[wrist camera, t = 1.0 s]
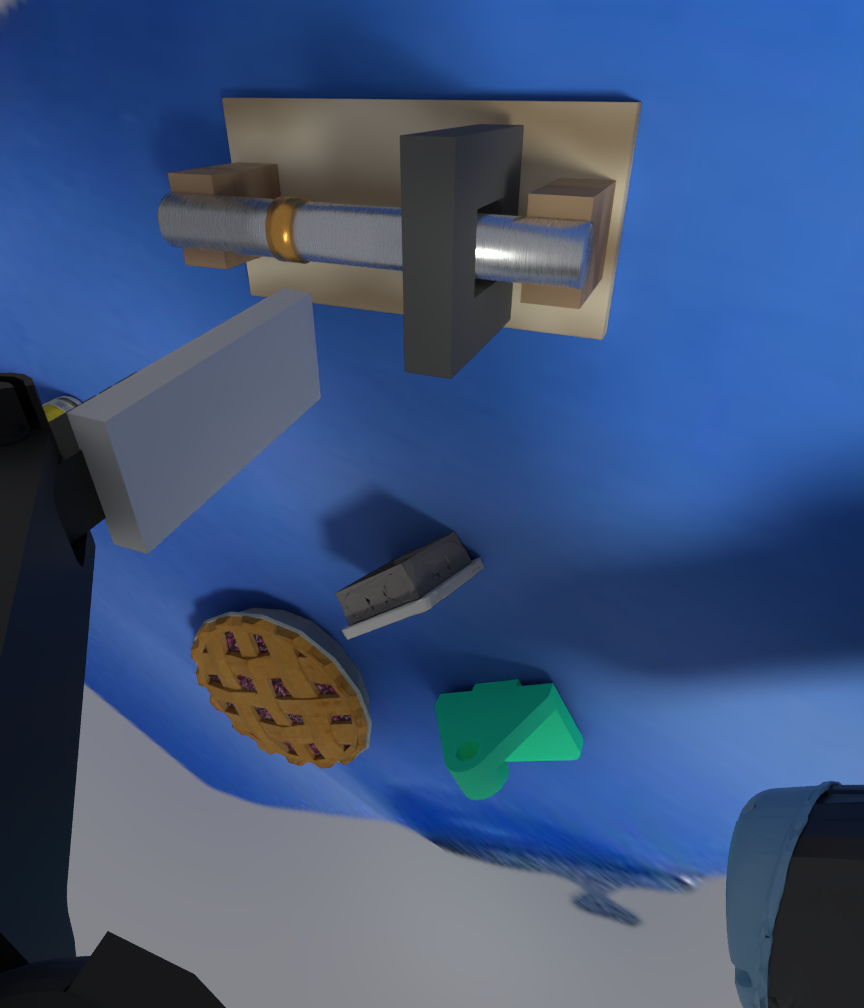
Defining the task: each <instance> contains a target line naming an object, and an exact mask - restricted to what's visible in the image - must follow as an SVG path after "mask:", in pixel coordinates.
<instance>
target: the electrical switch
mask: <svg viewBox="0 0 864 1008" xmlns="http://www.w3.org/2000/svg"><path fill="white" fill-rule="evenodd" d="M406 559H407V560H406ZM392 562H393V564H394V566H393V564H392ZM392 562H391V561H390V562H388V563H386V564H385V565H383V566H381V567H379V568H378V569H376V570H374V571H373V572H371V573H369V574H367V575H366V576H364V577H362V578H361V579H359V580H357V581H355V582H354V583H352V584H350V585H348V586H347V587H345V588H343V589H342V590H340V591H338V592H336V593H335V594H336V596H337V598H338V600H339V602H340V603H341V605H342V607H343V611H344V614H345V616H346V618H347V621H348V624H349V626H347V627H345V628H343V629H342V632H343V634H344V635H345V637H346V638H347V640H348V639H351V638H354V637H356V636H359V635H362V634H364V633H367V632H370V631H372V630H375V629H378V628H380V627H383V626H386V625H388V624H391V623H394V622H396V621H399V620H402V619H404V618H407V617H410V616H412V615H415V614H420V613H423V612H426V611H428V610H429V609H431V608H432V607H433V605H435V604H436V603H438V602H439V601H441V600H442V599H444V598H445V597H447V596H448V595H449V594H451V593H452V592H453V591H455V590H456V589H457V588H458V587H460V586H461V585H462V584H464V583H465V582H466V581H468V580H469V579H470V578H472V577H473V576H474V575H476V574H477V573H478V572H479V571H481V570H482V569H483V568H484V566H483V563H482V560H481V558H480V557H479V558H476V559H474V560H472V561H471V559H470V557H469V555H468V553H467V551H466V549H465V548H464V547H463V546H462V544H461V542H460V540H459V538H458V537H457V535H456V533H455V532H453V533H451V534H449V535H447V536H445V537H443V538H441V539H439V540H436V541H434V542H432V543H430V544H428V545H426V546H423V547H421V548H419V549H417V550H415V551H413V552H410V553H408V554H406V555H404V556H402V557H400V558H398V559H395V560H393V561H392Z"/></svg>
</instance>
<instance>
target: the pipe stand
mask: <svg viewBox="0 0 864 1008" xmlns="http://www.w3.org/2000/svg"><path fill="white" fill-rule="evenodd" d="M222 102H223V108H224V115H225V122H226V129H227V135H228V142H229V149H230V155H231V162H232V163H229V164H222V165H216V166H209V167H203V168H196V169H189V170H183V171H176V172H169V173H168V178H169V183H170V188H171V192H175V193H189V194H203V195H223V196H238V197H252V198H266V199H276V198H277V197H281V196H282V197H297V198H306V199H309V200H310V201H311V202H324V203H339V204H353V205H367V206H382V207H396V208H401V176H400V135H406V134H413V133H420V132H427V131H434V130H441V129H448V128H455V127H462V126H469V125H476V124H503V125H524V133H523V148H522V162H521V176H520V191H519V205H518V216H526V217H534V218H549V219H563V220H577V221H591V224H593V227H594V236H593V247H592V254H591V260H590V266H589V270H588V274H587V278H586V281H585V284H584V286H583V288H582V289H572V288H563V287H553V286H543V285H533V284H524V283H514V282H513V291H512V306H511V320H510V321H509V322H508V323H507V324H506V325H505V326H504V327H506V328H514V329H522V330H530V331H538V332H546V333H553V334H561V335H569V336H577V337H585V338H593V339H601V340H602V339H603V337H604V336H605V334H606V332H607V325H608V319H609V312H610V306H611V299H612V293H613V286H614V280H615V273H616V266H617V260H618V253H619V247H620V240H621V234H622V227H623V221H624V214H625V208H626V201H627V195H628V188H629V182H630V175H631V168H632V162H633V155H634V149H635V142H636V136H637V129H638V123H639V116H640V110H641V103H642V102H605V101H512V100H420V99H327V98H222ZM588 241H589V239H588ZM183 253H184V258H185V263H186V265H192V266H201V267H210V268H219V269H229V268H232V267H235V266H237V265H240V264H243V263H247V270H248V276H249V283H250V290H251V295H253V296H261V297H269V296H270V295H272V294H274V293H276V292H277V291H279V290H281V289H290V290H296V291H303V292H309V293H311V296H312V303H317V304H324V305H332V306H340V307H348V308H356V309H364V310H372V311H380V312H388V313H395V314H403V271H398V270H388V269H379V268H369V267H359V266H349V265H340V264H330V263H320V262H309V263H307V264H302V263H293V262H283V261H279V260H277V259H276V258H272V257H262V256H253V255H243V254H233V253H224V252H214V251H204V250H195V249H185V248H183ZM403 315H404V314H403Z"/></svg>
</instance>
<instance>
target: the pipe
mask: <svg viewBox="0 0 864 1008" xmlns="http://www.w3.org/2000/svg"><path fill="white" fill-rule="evenodd" d="M158 222H159V227H160V230H161V233H162V235H163V237H164V238H165V240H166V241H167V242H168V243H169V244H170V245H172V246H174V247H176V248H185V249H195V250H204V251H214V252H224V253H233V254H243V255H253V256H262V257H272V258H276V259H277V260H279V261H283V262H293V263H302V264H307V263H309V262H320V263H330V264H340V265H349V266H359V267H369V268H379V269H388V270H398V271H403V268H402V222H401V208H396V207H382V206H367V205H353V204H339V203H324V202H311V201H310V200H309V199H306V198H297V197H282V196H281V197H277V198H276V199H266V198H252V197H238V196H223V195H203V194H189V193H175V192H171V193H168V194H166V195H165V196H164V197H163V199H162V200H161V202H160V205H159V209H158ZM593 236H594V227H593V224H591V221H577V220H563V219H549V218H534V217H526V216H512V215H497V214H483V213H477V231H476V258H475V279H485V280H495V281H504V282H514V283H524V284H533V285H543V286H553V287H563V288H572V289H582V288H583V286H584V284H585V281H586V278H587V274H588V270H589V266H590V260H591V254H592V247H593ZM588 239H589V241H588Z"/></svg>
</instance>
